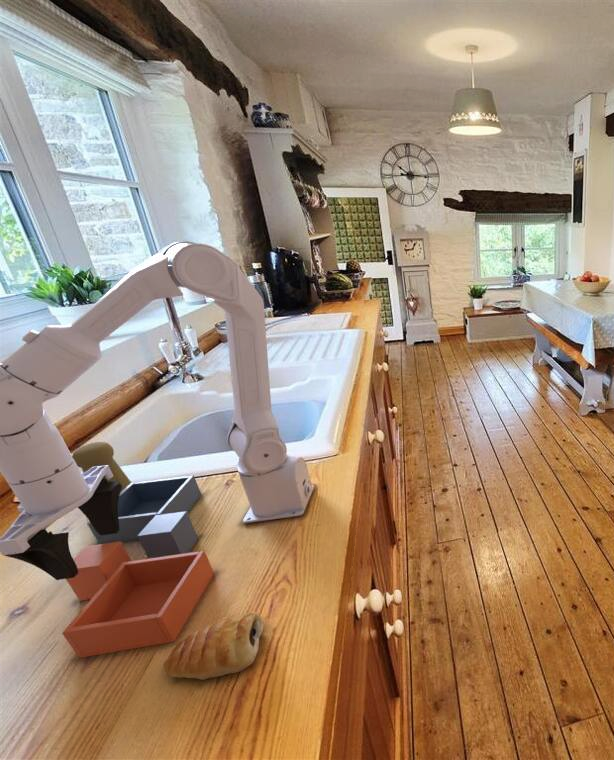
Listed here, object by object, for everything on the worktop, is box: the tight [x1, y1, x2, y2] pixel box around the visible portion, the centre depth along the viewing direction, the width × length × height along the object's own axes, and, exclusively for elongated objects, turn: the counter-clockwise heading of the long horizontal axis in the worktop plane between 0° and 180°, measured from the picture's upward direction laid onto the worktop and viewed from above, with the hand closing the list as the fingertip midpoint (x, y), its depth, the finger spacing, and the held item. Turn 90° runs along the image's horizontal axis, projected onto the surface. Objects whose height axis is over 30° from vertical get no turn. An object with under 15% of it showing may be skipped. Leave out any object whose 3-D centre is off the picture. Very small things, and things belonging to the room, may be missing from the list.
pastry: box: [162, 610, 265, 681], centre depth 47 cm, size 9×7×4 cm
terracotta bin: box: [61, 550, 215, 659], centre depth 53 cm, size 10×10×4 cm
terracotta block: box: [65, 541, 132, 602], centre depth 57 cm, size 4×4×6 cm
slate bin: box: [87, 475, 203, 545], centre depth 69 cm, size 10×10×4 cm
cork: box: [71, 441, 132, 493], centre depth 74 cm, size 6×6×11 cm
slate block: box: [137, 511, 199, 559], centre depth 62 cm, size 4×4×6 cm
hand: (90, 553), depth 55 cm, fingers open, 7 cm apart
